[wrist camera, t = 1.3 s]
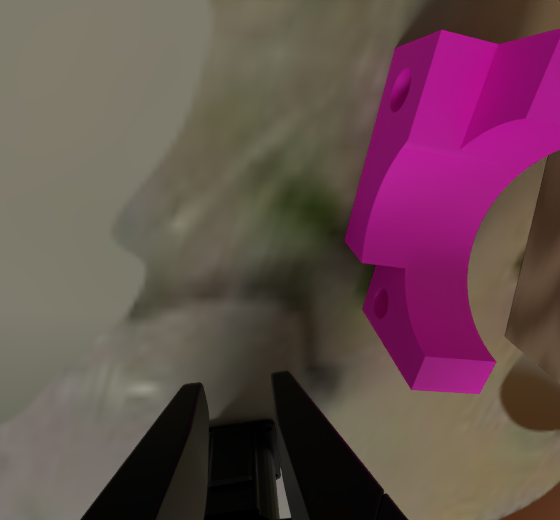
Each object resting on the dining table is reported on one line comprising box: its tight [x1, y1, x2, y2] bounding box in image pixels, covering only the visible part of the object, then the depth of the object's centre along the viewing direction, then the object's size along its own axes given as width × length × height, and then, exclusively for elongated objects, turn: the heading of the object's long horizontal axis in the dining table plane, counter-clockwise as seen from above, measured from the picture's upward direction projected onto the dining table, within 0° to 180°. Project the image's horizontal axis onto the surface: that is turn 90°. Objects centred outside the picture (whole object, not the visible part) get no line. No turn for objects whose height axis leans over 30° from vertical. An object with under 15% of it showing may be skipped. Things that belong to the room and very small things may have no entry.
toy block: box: [344, 29, 560, 394], centre depth 17 cm, size 15×6×8 cm, turn 170°
